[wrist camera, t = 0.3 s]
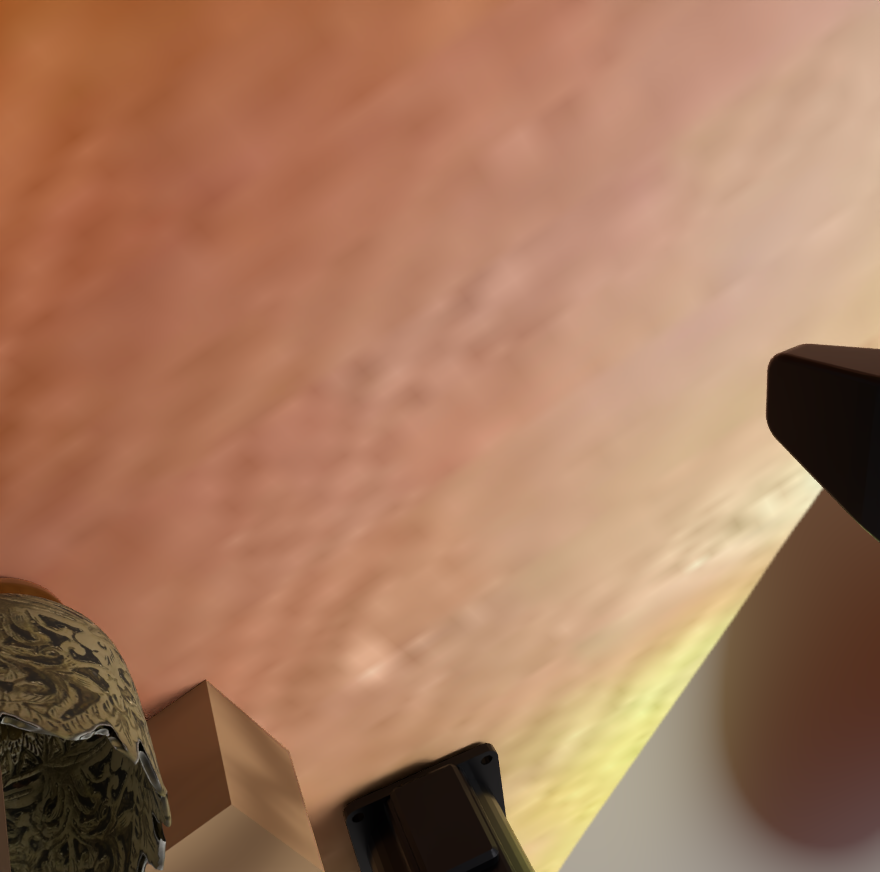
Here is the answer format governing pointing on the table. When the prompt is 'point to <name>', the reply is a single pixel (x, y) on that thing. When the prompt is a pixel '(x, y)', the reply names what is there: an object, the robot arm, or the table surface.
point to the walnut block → (228, 791)
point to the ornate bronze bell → (73, 744)
